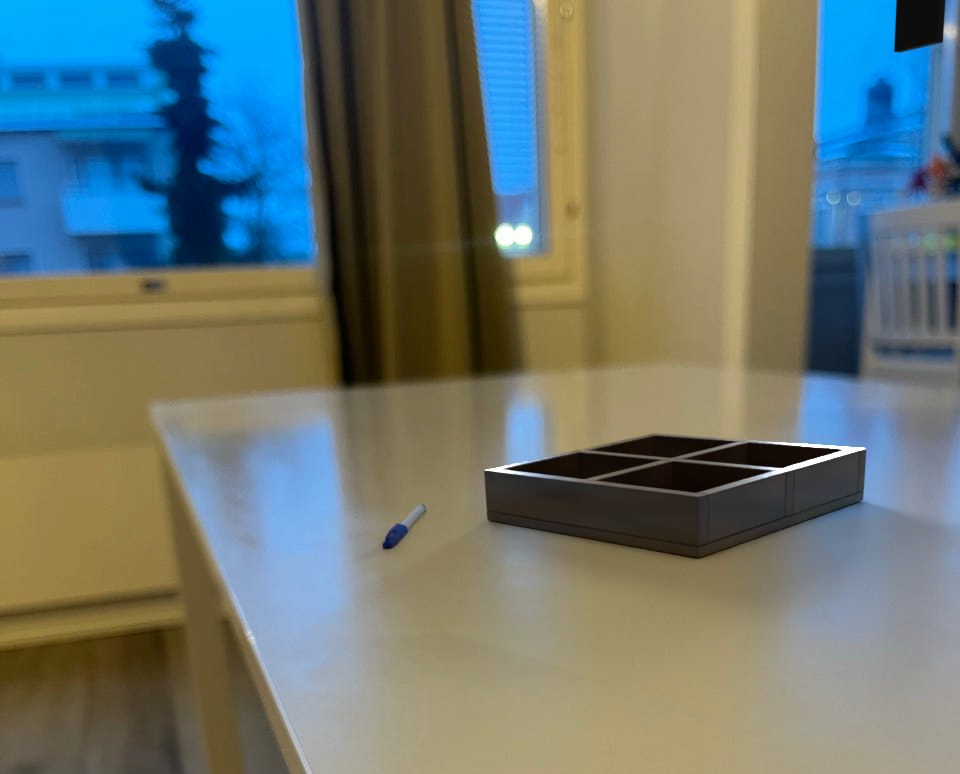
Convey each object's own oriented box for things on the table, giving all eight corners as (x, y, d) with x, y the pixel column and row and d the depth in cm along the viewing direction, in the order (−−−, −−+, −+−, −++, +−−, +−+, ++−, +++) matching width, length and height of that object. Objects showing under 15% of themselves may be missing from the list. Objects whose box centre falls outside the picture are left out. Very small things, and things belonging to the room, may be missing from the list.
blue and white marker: (396, 552, 56) (395, 535, 56) (381, 553, 56) (380, 535, 56) (427, 512, 66) (426, 497, 65) (414, 512, 66) (413, 498, 66)
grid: (653, 476, 71) (653, 433, 70) (863, 500, 59) (866, 448, 58) (486, 520, 61) (483, 470, 60) (698, 558, 49) (698, 497, 48)
